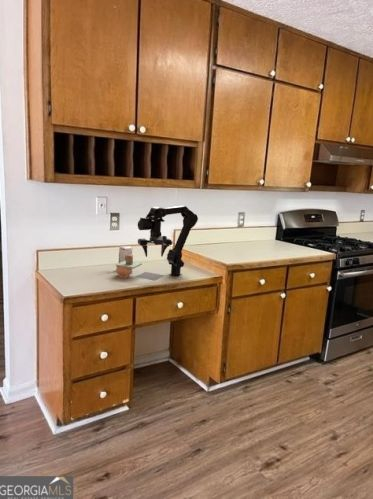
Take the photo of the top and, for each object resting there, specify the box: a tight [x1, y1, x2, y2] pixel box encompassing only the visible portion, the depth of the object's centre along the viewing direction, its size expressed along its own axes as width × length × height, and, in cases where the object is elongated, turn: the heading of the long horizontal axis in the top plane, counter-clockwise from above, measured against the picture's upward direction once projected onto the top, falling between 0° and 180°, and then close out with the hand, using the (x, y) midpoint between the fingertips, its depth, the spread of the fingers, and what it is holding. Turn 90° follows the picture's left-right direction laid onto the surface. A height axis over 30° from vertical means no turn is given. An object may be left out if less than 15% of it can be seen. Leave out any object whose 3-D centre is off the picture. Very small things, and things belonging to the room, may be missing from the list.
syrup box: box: [118, 245, 133, 263], centre depth 230 cm, size 6×6×14 cm
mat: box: [134, 271, 165, 281], centre depth 219 cm, size 13×13×1 cm
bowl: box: [115, 266, 133, 279], centre depth 215 cm, size 9×9×7 cm
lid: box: [115, 254, 143, 270], centre depth 214 cm, size 11×11×6 cm
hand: (154, 256), depth 214 cm, fingers open, 9 cm apart
